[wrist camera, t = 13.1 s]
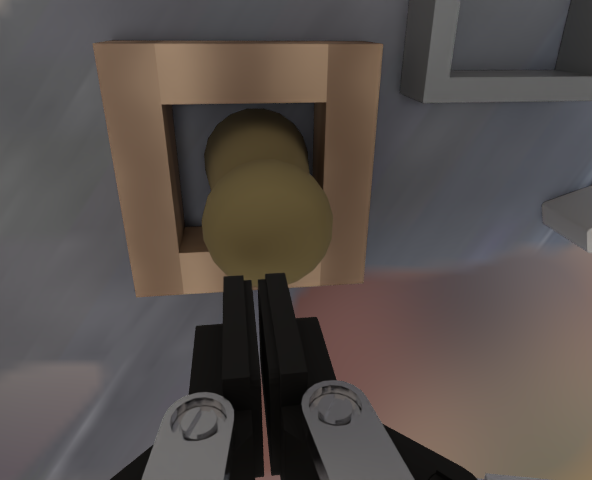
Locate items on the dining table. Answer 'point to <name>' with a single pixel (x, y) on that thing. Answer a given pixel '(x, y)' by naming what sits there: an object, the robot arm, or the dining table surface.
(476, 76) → the grey square frame
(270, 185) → the cork
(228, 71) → the socket block
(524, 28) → the dining table surface
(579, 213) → the lighter
